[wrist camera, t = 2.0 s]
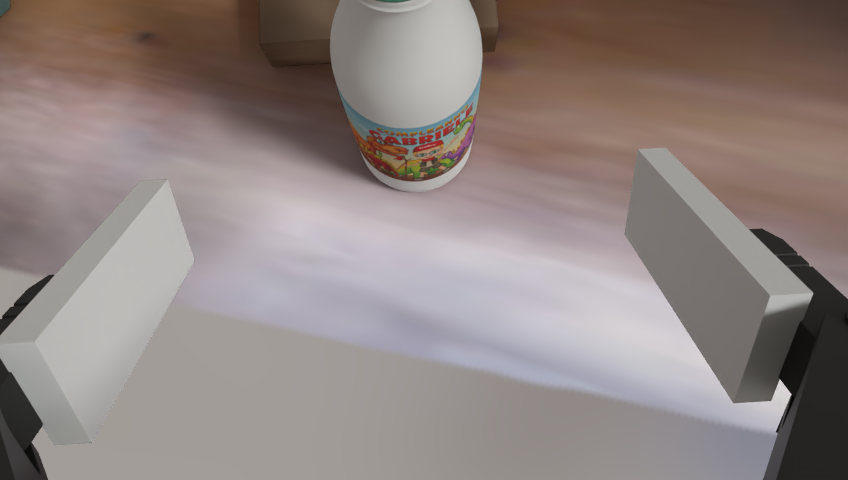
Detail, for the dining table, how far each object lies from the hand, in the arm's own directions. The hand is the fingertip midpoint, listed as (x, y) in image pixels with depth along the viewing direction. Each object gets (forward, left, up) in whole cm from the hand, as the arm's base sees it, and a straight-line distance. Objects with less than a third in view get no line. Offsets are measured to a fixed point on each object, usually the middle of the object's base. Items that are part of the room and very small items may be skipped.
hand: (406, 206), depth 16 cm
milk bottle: (0, -11, -21) cm, 24 cm away
